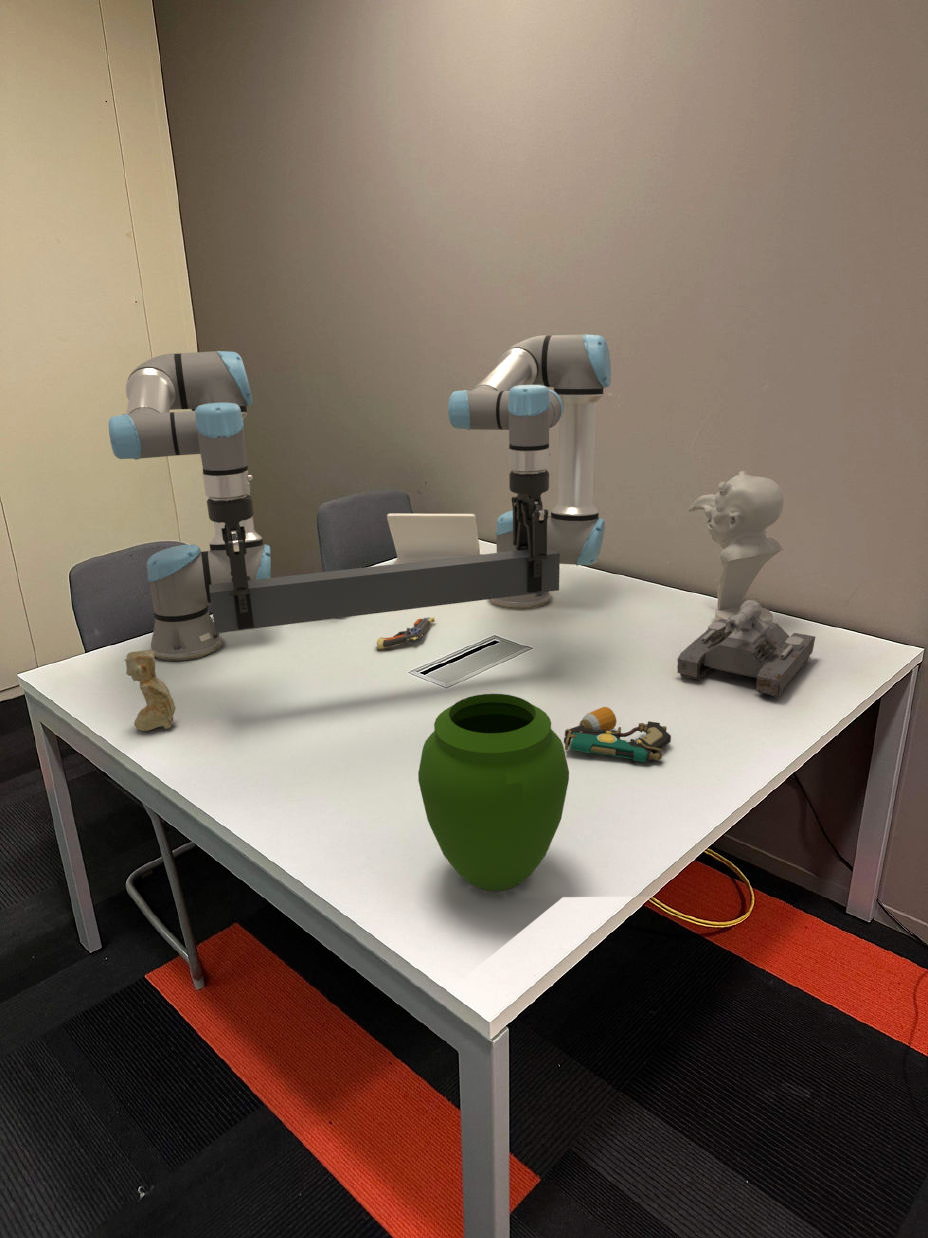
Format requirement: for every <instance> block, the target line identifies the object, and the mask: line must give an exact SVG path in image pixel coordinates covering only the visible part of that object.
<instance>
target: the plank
mask: <svg viewBox="0 0 928 1238" xmlns="http://www.w3.org/2000/svg"><path fill="white" fill-rule="evenodd" d="M527 558H529V549H528V550H519V551H509V552H500V553H497V552H494V553H493V552H492V553H482V555H473V556H464V557H455V558H446V559H437V560H428V561H419V562H410V563H401V564H394V563H393V564H384V565H375V566H367V567H358V568H349V569H348V568H347V569H338V570H330V571H321V572H320V571H319V572H313V573H312V572H311V573H303V574H295V575H294V574H293V575H286V576H285V575H284V576H276V577H270V578H266V579H257V580H248V587H249V589H250V601H251V609H252V617H253V625H254V627H253V628H245V629H238V623H237V615H236V608H235V600H234V596H230V592H233V590H234V586H233V582H230V583H221V584H211V585H209V588H210V598H211V603H210V604H211V605H210V606H211V613H212V618H213V619H212V620H213V622H214V627H215V633H219V634H223V633H230V632H231V633H232V632H238V631H246V630H255V629H265V628H271V627H279V626H280V627H281V626H286V625H287V626H288V625H296V624H303V623H312V622H318V621H319V622H320V621H328V620H336V619H342V618H351V617H359V616H367V615H375V614H383V613H390V612H399V611H408V610H414V609H422V608H423V609H424V608H429V607H439V606H448V605H454V604H462V603H470V602H479V601H484V600H485V601H488V600H490V599H495V598H503V597H511V596H519V595H527V594H535V593H543V592H557V591H558V592H559V591H560V572H561V571H560V567H561V566H560V565H561V564H560V553H559V552H557V551H556V550H554V549H553V548H551V547H547V559H545V560H542V591H539V592H532V593H528V592H527V561H526V559H527Z"/></svg>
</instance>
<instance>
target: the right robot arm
mask: <svg viewBox="0 0 928 1238" xmlns="http://www.w3.org/2000/svg"><path fill="white" fill-rule="evenodd" d="M611 382H612V363H611V355H610V349H609V345H608V342H607V340H606V339H605V338H604V336H602V335H597V334H586V333H584V334H557V335H555V334H553V335H548V334H546V335H545V334H544V335H537V336H533V337H529V338H527V339H524V340H521V341H519V342H517V343H516V344H513V345H512V346H510V347H509V348H507V349H506V350H505V351H504V352H503V353H502V354H501V355H500V357H499V358H498V359H497V362H496V366H495V367H494V368H493V369H492V370H491V371H490V372H489V373H487V375H486V376H484V378H483V379H481V380H480V381H479V382H478V383H477V384H476V385H475V387H473V388H472V389H471V390H467V389H463V390H454V391H453V392H452V393H451V394H450V396H449V398H448V403H447V404H448V405H447V414H448V420H449V423H450V425H451V427H453V428H454V429H457V430H467V431H471V430H474V431H475V430H479V431H480V430H481V431H482V430H485V431H487V430H488V431H493V430H495V431H497V430H498V431H508V469H510V470H511V471H510V472H509V474H508V475H509V477H508V479H509V487H508V488H509V491H510V492H511V493H513V494H515V495H516V494H517V495H516V496H511V506H512V510H509V511H506V512H504V513H502V514H500V515H499V516H498V517H497V520H496V529H495V538H496V539H495V541H496V543H495V544H496V553H500V552H509V551H519V550H528V549H529V558H527V559H526V561H527V592H528V593H532V592H539V591H542V560H545V559H547V547H551V548H553V549H554V550H556V551H557V552H559V553H560V565H571V566H576V567H578V566H592V565H594V564H595V563H596V562H597V561H598V558H599V557H600V554H601V550H602V546H603V541H604V537H605V536H604V535H605V529H606V520H605V519H604V518H602V517H599V513H600V512H599V511H600V510H599V509H598V508H597V507H596V505H594V483H595V481H594V479H595V478H594V477H595V450H596V424H597V422H596V421H597V404H598V401H600V399H601V398H602V397H603V396H604V389H606V388H609V387H610V385H611ZM549 388H550V389H549ZM551 388H553V389H551ZM558 423H559V425H558V461H557V462H558V464H557V499H556V500H557V503H556V504H555V505H554V506H553V507H552V508H551V509H550V516H549V510H548V509H547V508H546V509H544V507H543V506H544V505H543V501H542V494H544V493H546V492H548V491H549V490H550V472H549V470H548V469H549V468H550V456H552V452H551V451H550V429H551V428H553V427H555V426H556V425H557V424H558ZM550 595H551V593H550V592H543V593H535V594H527V595H519V596H511V597H503V598H495V599H489V600H490V602H491V603H492V604H493V605H495V606H497V607H501V608H504V609H512V610H526V609H527V610H528V609H534V608H539V607H541V606H542V607H543V606H544V605H546V604H548V603H549V602H550Z"/></svg>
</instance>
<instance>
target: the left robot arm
mask: <svg viewBox="0 0 928 1238" xmlns="http://www.w3.org/2000/svg"><path fill="white" fill-rule="evenodd" d="M125 394H126V398H127V400H128V401H127V402H128V403H127V407H126V411H125V412H126V413H123V414H118V415H112V416H111V417H109V419H108V436H109V442H110V445H111V450H112V453H113V455H114V457H116V458H117V459H120V460H132V459H133V460H140V459H152V458H163V457H165V458H166V457H174V456H175V457H176V456H178V457H179V456H192V455H200V461H201V465H202V479H203V487H204V493H205V496H206V497H207V498H208V499H207V500H206V506H207V514H208V518H209V520H210V521H211V522H213V526H214V536H213V537H212V538H211V540H210V541H209V542H208V543H209V550H204V551H201V548H200V547H199V545H197V544H180V545H175V546H171V547H167V548H165V549H162V550H159V551H157V552H154V554H152V555H151V556H149V558H148V559H147V561H146V572H147V578H146V579H147V582H148V583H149V589H150V596H151V603H152V609H153V615H154V626H153V631H152V636H151V642H150V651H153V652H154V653H155V655H154V658H156V659H158V660H162V661H169V662H181V661H190V660H195V659H200V658H203V657H206V656H208V655H211V654H213V653H215V652H216V651H218V650H219V649H220V648H221V646H222V638H221V637H222V636H221V633H215V627H214V620H213V619H212V618H213V617H212V616H211V615H210V612H209V604H211V598H210V588H209V585H211V584H221V583H230V582H233V586H234V590H233V592H230V596H234V600H235V608H236V615H237V623H238V629H245V628H253V627H254V625H253V617H252V609H251V601H250V589H249V587H248V580H257V579H266V578H271V577H272V576H271V573H272V572H271V569H272V567H271V565H272V563H271V562H272V561H271V560H272V559H271V546H270V545H268V544H264V541H263V536H261V535H260V534H259V533H257V532H256V530H255V523H254V507H253V506H254V505H253V498H252V496H251V484H250V482H251V481H252V480H254V476H253V474H249V466H248V458H247V449H246V447H247V446H246V438H245V430H244V427H245V422H244V419H245V418H246V417H247V415H248V409H247V407H250V406H252V405H253V396H252V393H251V386H250V384H249V378H248V375H247V371H246V368H245V364H244V362H243V359H242V356H241V355H240V354H239V353H237V352H235V351H223V350H221V351H220V350H216V351H215V350H214V351H198V352H179V353H178V352H177V353H175V352H174V353H165V354H159V355H156V356H154V357H152V358H149V359H148V360H145V361H144V362H142V363H141V364H140V365H138V366H137V367H136V368H135V369H133V371H131V372H130V374H129V376H128V378H127V381H126V385H125ZM173 410H184V411H173ZM185 410H186V411H185ZM249 481H250V482H249Z"/></svg>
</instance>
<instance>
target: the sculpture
mask: <svg viewBox="0 0 928 1238" xmlns="http://www.w3.org/2000/svg"><path fill="white" fill-rule="evenodd" d="M154 655H155V653H154V652H153V651H152V650H146V649H145V650H144V649H143V650H135V651H131V652H128V653H127V654H126V657H125V659H124V662H125V667H126V669H125V670H126V671H125V674H126V675H127V676H129V677H131V679H132V681H133V682H139V689H140V691H141V693H142V695H143V699H144V701H145V706H144V707H143V708H142V709H141V710H139V712H138V714H137V715H136V718H135V719H134V722H133V723H134V724H133V725H134V728H135V729H136V730H137V731H142V732H148V731H151V730H152V731H153V730H154V729H157V728H160V727H163V729H165V730H167V729H168V730H169V729H170V728H171V727H172V724H173V722H174V714H175V712H176V705H175V702H174V699H173V696H172V695H171V693H170V689H169V688H168V686H167V685H166V683H165V682H164V681H162V679H160V678H159V677H157V672H156V659H155V657H154Z"/></svg>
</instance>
